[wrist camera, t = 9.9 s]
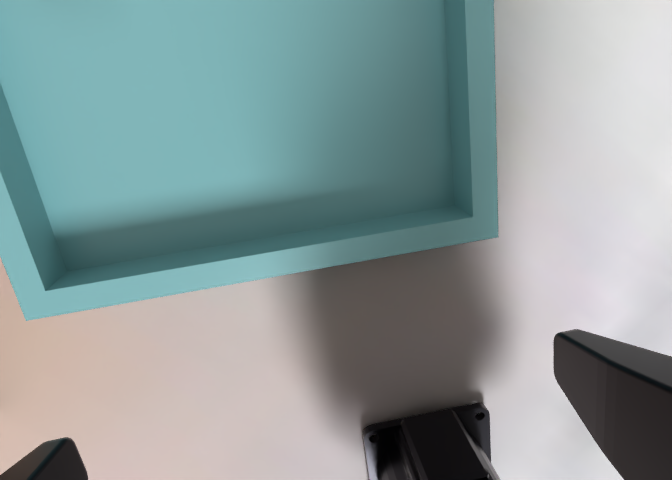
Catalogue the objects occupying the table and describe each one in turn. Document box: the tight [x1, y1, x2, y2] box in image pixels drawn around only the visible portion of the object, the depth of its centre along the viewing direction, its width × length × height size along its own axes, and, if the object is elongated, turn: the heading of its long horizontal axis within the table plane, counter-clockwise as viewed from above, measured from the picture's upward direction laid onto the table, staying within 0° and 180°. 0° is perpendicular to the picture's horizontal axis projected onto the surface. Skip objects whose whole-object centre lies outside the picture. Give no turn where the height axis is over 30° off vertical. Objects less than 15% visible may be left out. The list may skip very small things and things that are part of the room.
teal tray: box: [0, 0, 498, 321], centre depth 16 cm, size 18×18×2 cm
